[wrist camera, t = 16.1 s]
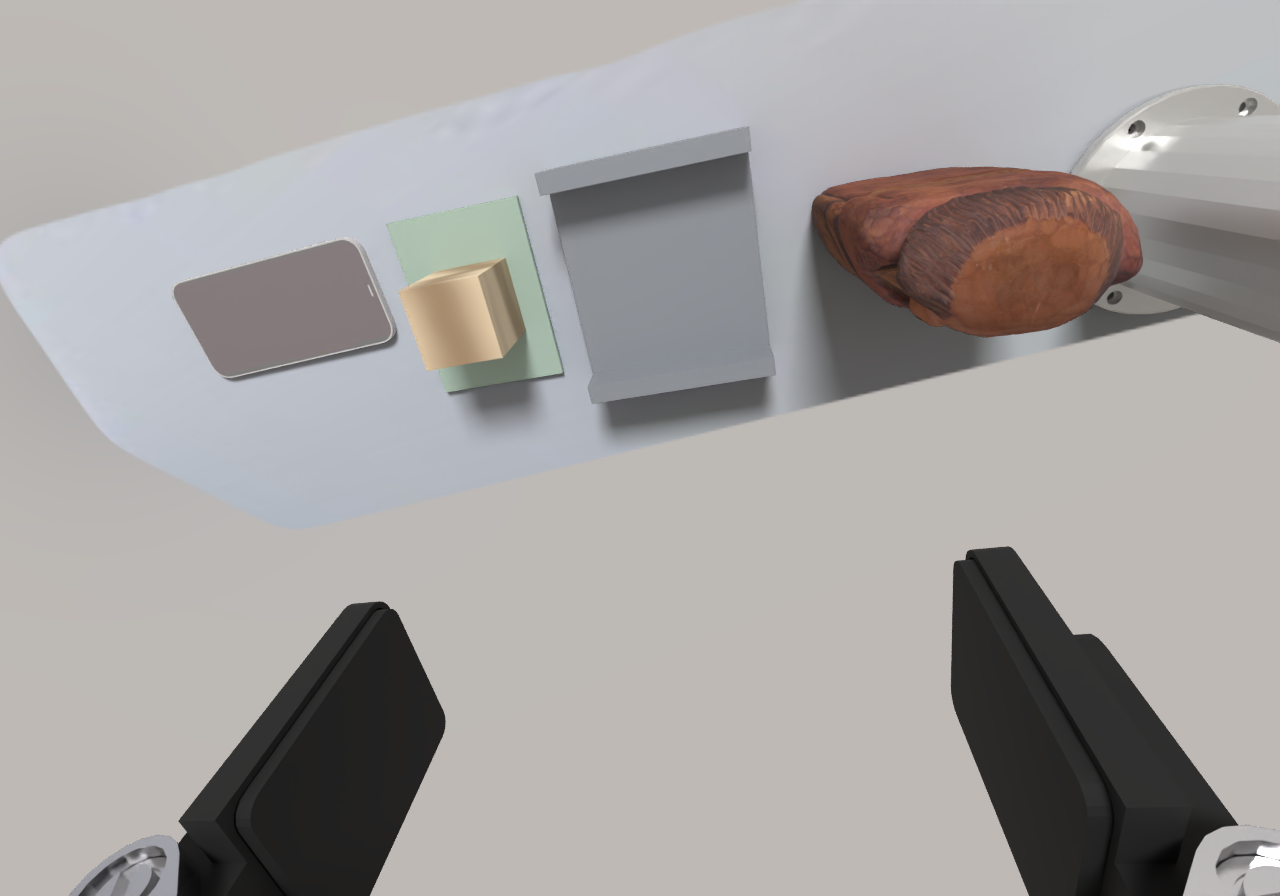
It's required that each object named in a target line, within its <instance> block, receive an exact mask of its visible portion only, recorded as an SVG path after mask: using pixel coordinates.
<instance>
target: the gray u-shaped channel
mask: <svg viewBox="0 0 1280 896" xmlns="http://www.w3.org/2000/svg"><path fill="white" fill-rule="evenodd" d="M750 151H752V150H751V141H750V132H749V127H742V128H737V129H733V130H728V131H723V132H719V133H714V134H710V135H705V136H701V137H696V138H691V139H687V140H682V141H678V142H673V143H669V144H664V145H659V146H655V147H650V148H646V149H641V150H637V151H632V152H627V153H623V154H618V155H614V156H609V157H605V158H600V159H595V160H591V161H586V162H582V163H577V164H572V165H568V166H563V167H559V168H554V169H550V170H546V171H542V172H538V173H535V177H536V181H537V185H538V189H539V193H540V196H543V195H547V194H550V198H551V202H552V206H553V210H554V214H555V219H556V223H557V227H558V231H559V235H560V239H561V243H562V247H563V252H564V256H565V260H566V264H567V268H568V272H569V276H570V280H571V285H572V289H573V293H574V297H575V301H576V305H577V309H578V313H579V318H580V322H581V326H582V330H583V334H584V338H585V342H586V346H587V351H588V355H589V359H590V363H591V367H592V371H593V376H592V378H591V380H590V383H589V385H588V390H589V394H590V398H591V402H592V404H595V403H601V402H607V401H614V400H620V399H626V398H633V397H639V396H646V395H652V394H658V393H665V392H671V391H678V390H684V389H690V388H697V387H703V386H710V385H716V384H722V383H729V382H735V381H741V380H748V379H754V378H761V377H767V376H773V375H776V371H775V362H774V356H773V353H772V350H771V347H770V344H769V335H768V326H767V316H766V307H765V298H764V289H763V280H762V271H761V262H760V253H759V244H758V235H757V226H756V217H755V208H754V199H753V190H752V181H751V172H750V163H749V154H748V152H750Z"/></svg>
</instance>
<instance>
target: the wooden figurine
mask: <svg viewBox="0 0 1280 896" xmlns="http://www.w3.org/2000/svg"><path fill="white" fill-rule="evenodd" d="M812 217H813V220H814V223H815V226H816V229H817V231H818V233H819V236H820V237H821V239H822V241H823V243H824V245H825V247H826V248H827V250H828V251H829V252H830V254H831V255H832V256H833V257H834V258H835V259H836V260H837V261H838V262H839V263H840V265H842V266H843V267H844V268H845V269H847V270H848V271H849V272H850V273H852V274H853V275H855V276H856V277H858V278H859V279H861V280H862V281H863V282H864V283H865V284H866V285H868V286H869V287H870V288H871V289H873V290H874V291H875V292H876V293H877V294H878V295H879V296H880V297H882V298H883V299H884V300H885V301H887V302H888V303H890V304H892V305H896V306H898V307H907V308H909V309H910V311H911V312H912V314H914V315H915V316H916V317H917V318H919V319H920V320H922V321H924V322H925V323H927V324H929V325H931V326H935V327H940V326H947V327H949V328H951V329H953V330H956V331H960V332H963V333H966V334H969V335H974V336H979V337H994V336H1004V335H1012V334H1023V333H1029V332H1037V331H1043V330H1048V329H1051V328H1055V327H1058V326H1060V325H1063V324H1065V323H1067V322H1069V321H1071V320H1073V319H1075V318H1077V317H1078V316H1080V315H1082V314H1084V313H1086V312H1087V311H1089V310H1090V309H1091V308H1092V306H1093V305H1094V304H1095V303H1096V302H1098V301H1099V299H1100V298H1101V297H1102V295H1103V294H1104V293H1105V292H1106V290H1107V289H1108V288H1109V287H1110V286H1113V285H1116V284H1120V283H1123V282H1125V281H1127V280H1129V279H1131V278H1133V277H1134V276H1135V275H1136V274H1137V273H1138V272H1139V271H1140V270H1141V267H1142V265H1143V256H1142V249H1141V243H1140V238H1139V233H1138V228H1137V227H1136V225H1135V223H1134V221H1133V219H1132V217H1131V215H1130V213H1129V212H1128V211H1127V209H1126V208H1125V207H1124V206H1123V205H1122V204H1121V203H1120V202H1119V200H1118V199H1117V198H1116V197H1115V196H1114V195H1113V194H1112V193H1111V192H1109V191H1108V190H1106V189H1105V188H1104V187H1102V186H1100V185H1099V184H1097V183H1095V182H1093V181H1091V180H1088V179H1085V178H1082V177H1079V176H1076V175H1072V174H1067V173H1062V172H1056V171H1033V170H1028V169H1018V168H999V167H971V168H969V167H950V168H939V169H933V170H926V171H919V172H914V173H909V174H902V175H896V176H891V177H880V178H874V179H867V180H862V181H856V182H851V183H847V184H843V185H838V186H834V187H831V188H829V189H827V190H825V191H824V192H823V193H822V194H821V195H819V196H817V197H816V198H815V199H814V201H813V205H812Z"/></svg>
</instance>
